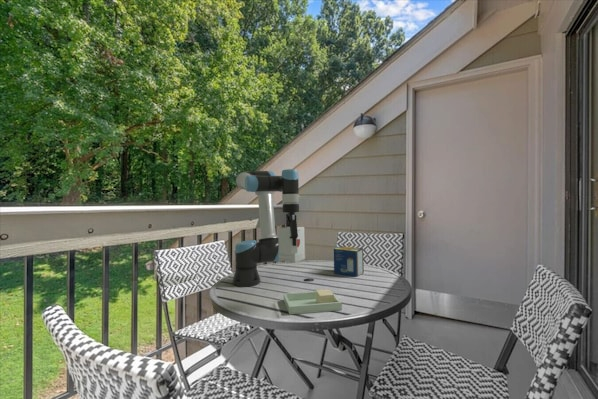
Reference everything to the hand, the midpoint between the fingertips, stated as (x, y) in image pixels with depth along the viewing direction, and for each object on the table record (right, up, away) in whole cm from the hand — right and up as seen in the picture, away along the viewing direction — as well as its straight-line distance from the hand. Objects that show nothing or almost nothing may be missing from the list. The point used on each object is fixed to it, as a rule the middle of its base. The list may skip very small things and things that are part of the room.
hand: (291, 251), depth 142 cm
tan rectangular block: (+15, -22, -5) cm, 27 cm away
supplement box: (0, -4, 0) cm, 4 cm away
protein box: (+34, -22, +50) cm, 64 cm away
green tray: (+9, -23, -6) cm, 26 cm away
